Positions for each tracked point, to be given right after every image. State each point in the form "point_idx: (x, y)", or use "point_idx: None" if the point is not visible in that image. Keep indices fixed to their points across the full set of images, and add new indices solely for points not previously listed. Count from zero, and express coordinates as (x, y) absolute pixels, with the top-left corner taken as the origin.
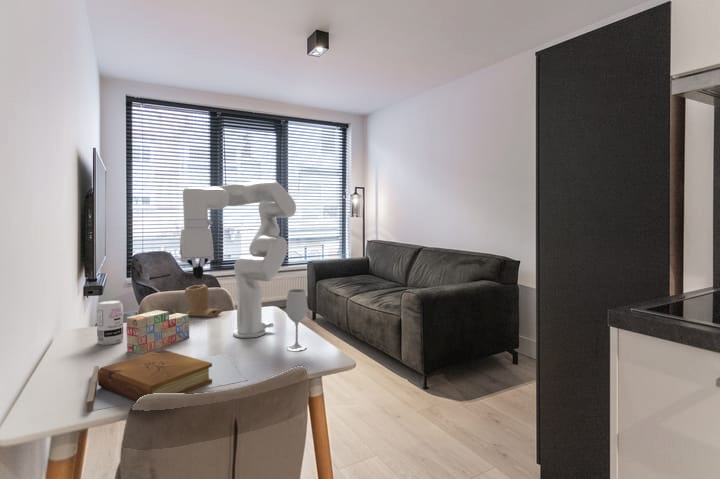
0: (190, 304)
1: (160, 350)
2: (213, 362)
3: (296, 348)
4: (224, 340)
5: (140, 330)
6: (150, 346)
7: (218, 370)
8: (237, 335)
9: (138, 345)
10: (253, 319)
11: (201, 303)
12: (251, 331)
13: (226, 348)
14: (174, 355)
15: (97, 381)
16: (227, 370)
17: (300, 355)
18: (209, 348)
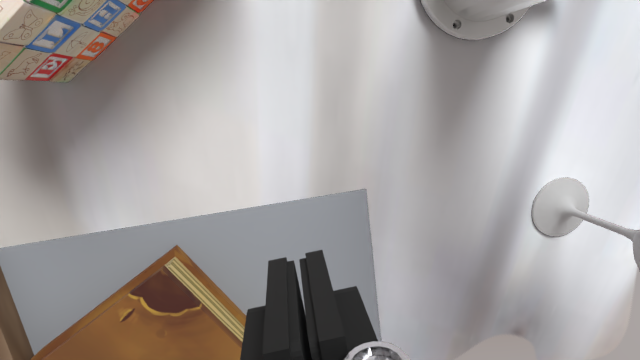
0: None
1: (158, 281)
2: None
3: (556, 225)
4: (373, 28)
5: (11, 72)
6: (95, 49)
7: None
8: (427, 9)
9: (46, 79)
10: (528, 6)
11: None
12: (485, 18)
13: (369, 132)
14: (211, 340)
15: (17, 325)
16: None
17: (545, 267)
18: (315, 110)
